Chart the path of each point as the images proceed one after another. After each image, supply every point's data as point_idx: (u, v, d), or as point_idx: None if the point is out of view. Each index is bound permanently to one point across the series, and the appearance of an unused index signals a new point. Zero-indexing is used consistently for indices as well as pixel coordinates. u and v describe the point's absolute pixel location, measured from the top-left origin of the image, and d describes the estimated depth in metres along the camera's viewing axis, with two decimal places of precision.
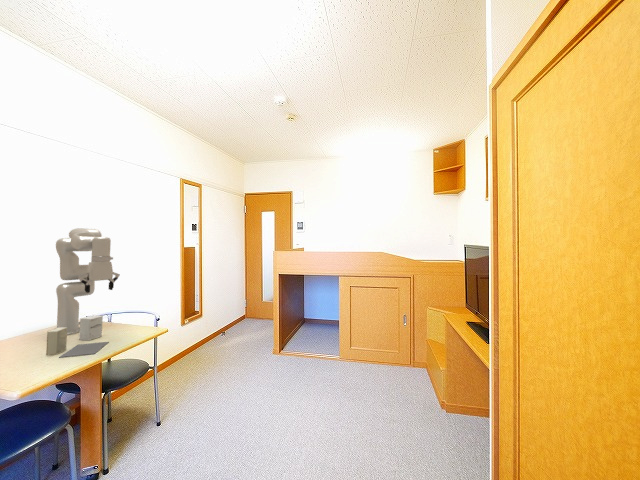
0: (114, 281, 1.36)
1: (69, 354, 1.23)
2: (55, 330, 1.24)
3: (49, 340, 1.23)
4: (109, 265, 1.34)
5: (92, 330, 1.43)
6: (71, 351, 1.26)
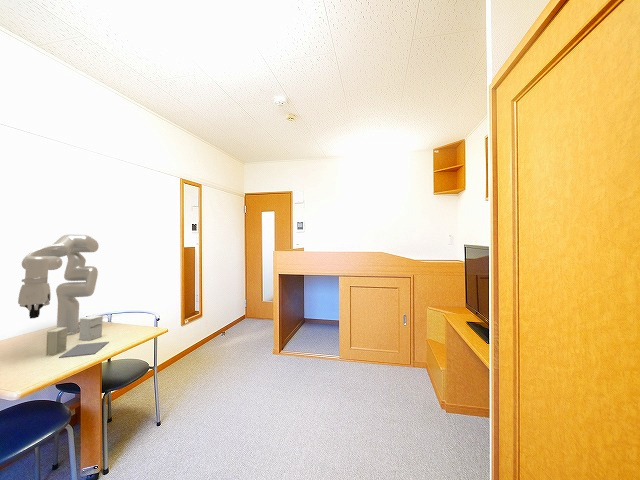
0: None
1: (69, 354, 1.23)
2: (55, 330, 1.24)
3: (49, 340, 1.23)
4: None
5: (92, 330, 1.43)
6: (71, 351, 1.26)
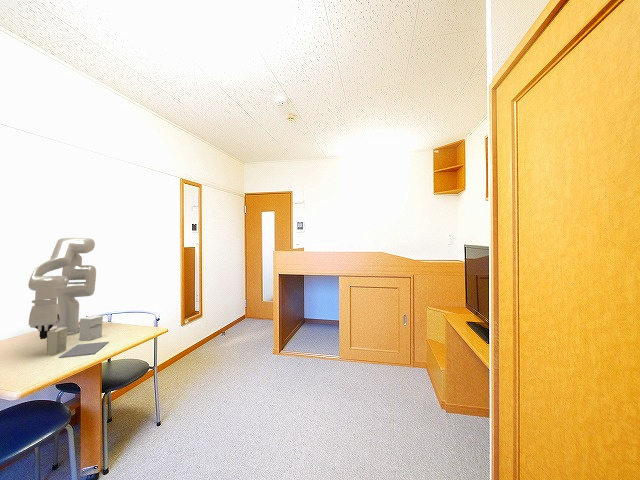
0: None
1: (69, 354, 1.23)
2: (55, 330, 1.24)
3: (49, 340, 1.23)
4: None
5: (92, 330, 1.43)
6: (71, 351, 1.26)
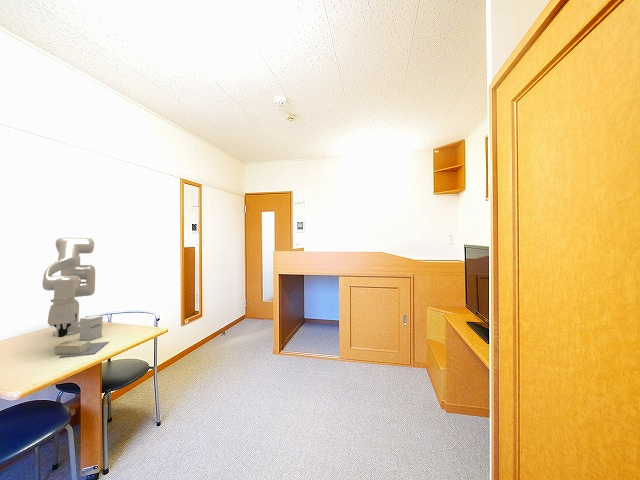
0: None
1: (69, 354, 1.23)
2: (82, 349, 1.25)
3: (70, 348, 1.23)
4: None
5: (92, 330, 1.43)
6: None
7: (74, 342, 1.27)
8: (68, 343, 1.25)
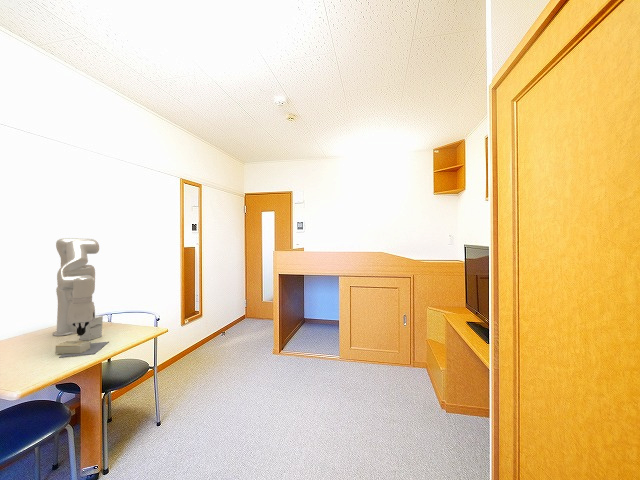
0: None
1: (69, 354, 1.23)
2: (82, 349, 1.25)
3: (70, 348, 1.23)
4: None
5: (92, 330, 1.43)
6: None
7: (74, 342, 1.27)
8: (69, 343, 1.25)
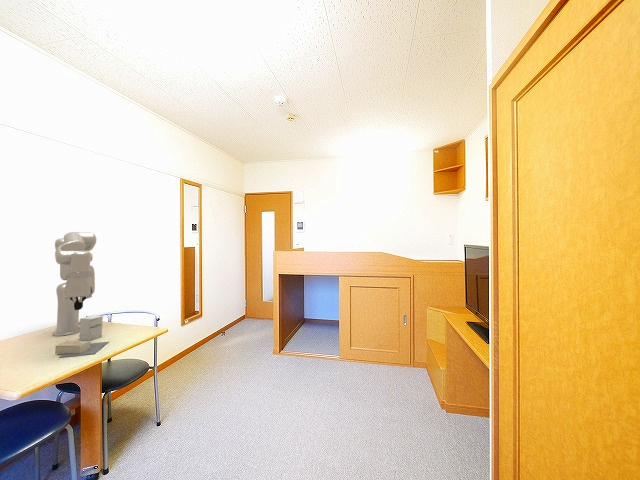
0: None
1: (69, 354, 1.23)
2: (82, 349, 1.25)
3: (70, 348, 1.23)
4: None
5: (92, 330, 1.43)
6: None
7: (74, 342, 1.27)
8: (69, 343, 1.25)
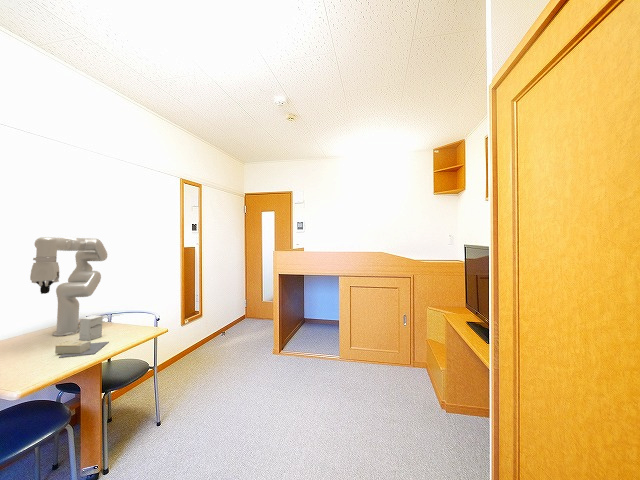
0: None
1: (69, 354, 1.23)
2: (82, 349, 1.25)
3: (70, 348, 1.23)
4: None
5: (92, 330, 1.43)
6: None
7: (74, 342, 1.27)
8: (69, 343, 1.25)
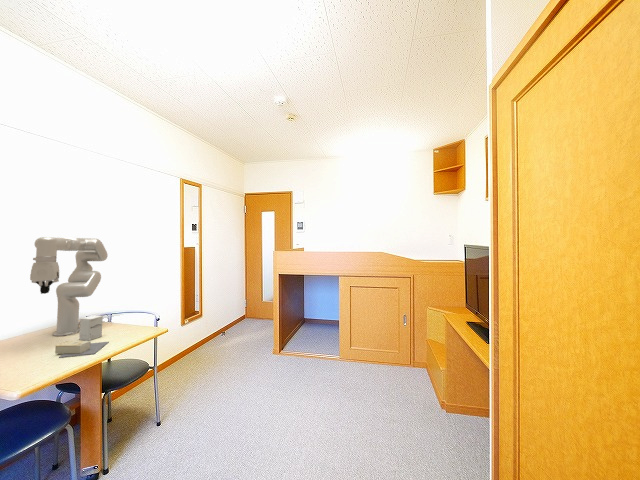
0: None
1: (69, 354, 1.23)
2: (82, 349, 1.25)
3: (70, 348, 1.23)
4: None
5: (92, 330, 1.43)
6: None
7: (74, 342, 1.27)
8: (69, 343, 1.25)
